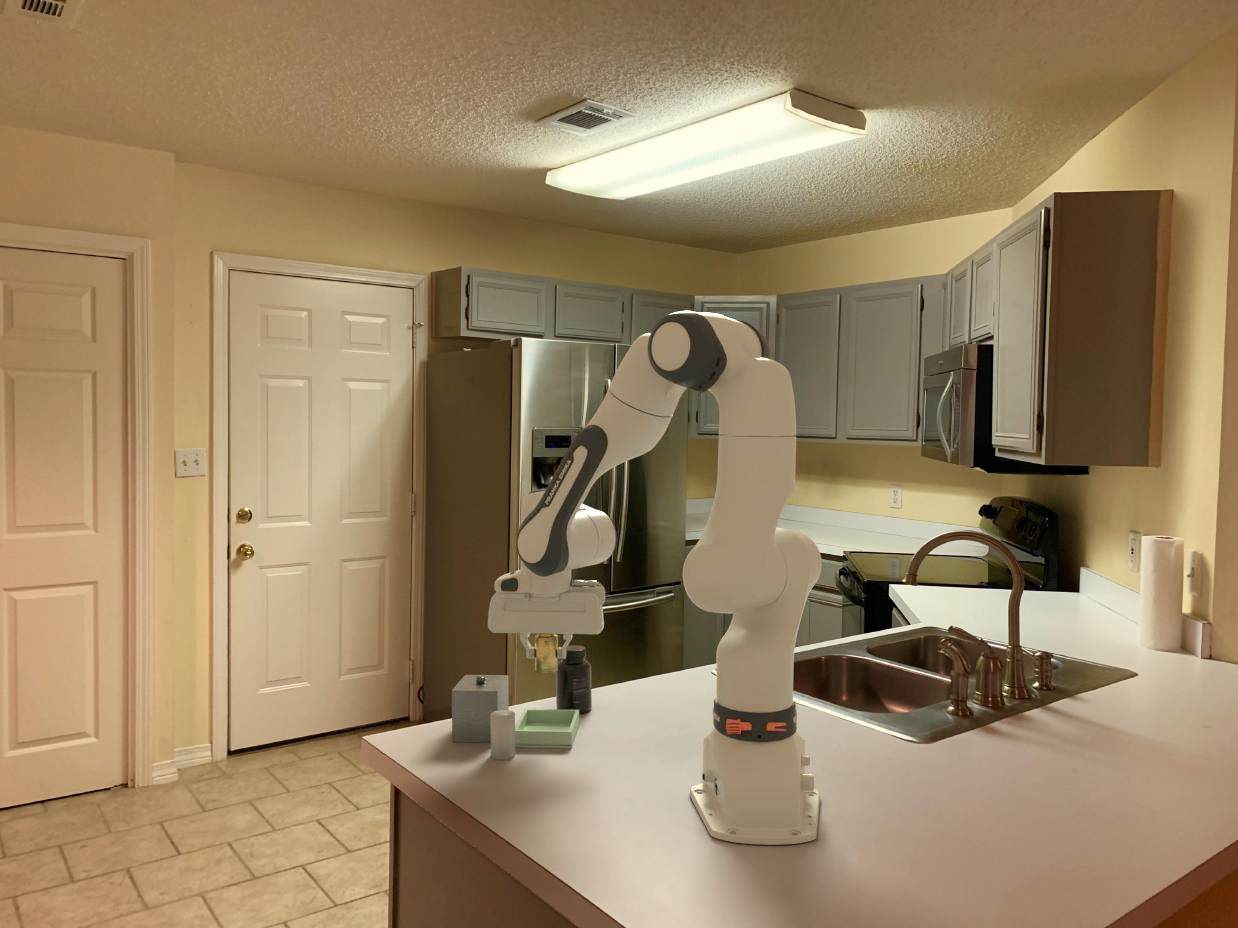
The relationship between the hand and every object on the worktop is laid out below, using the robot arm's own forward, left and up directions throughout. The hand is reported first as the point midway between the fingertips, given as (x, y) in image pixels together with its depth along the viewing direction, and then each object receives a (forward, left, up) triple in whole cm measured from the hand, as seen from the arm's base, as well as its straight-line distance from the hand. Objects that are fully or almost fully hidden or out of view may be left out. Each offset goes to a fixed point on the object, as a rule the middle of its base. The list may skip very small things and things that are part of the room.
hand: (546, 657), depth 158 cm
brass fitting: (0, 0, -2) cm, 2 cm away
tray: (0, 0, -14) cm, 14 cm away
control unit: (+1, +12, -14) cm, 18 cm away
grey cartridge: (-10, +6, -14) cm, 18 cm away
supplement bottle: (+15, -3, -14) cm, 21 cm away
